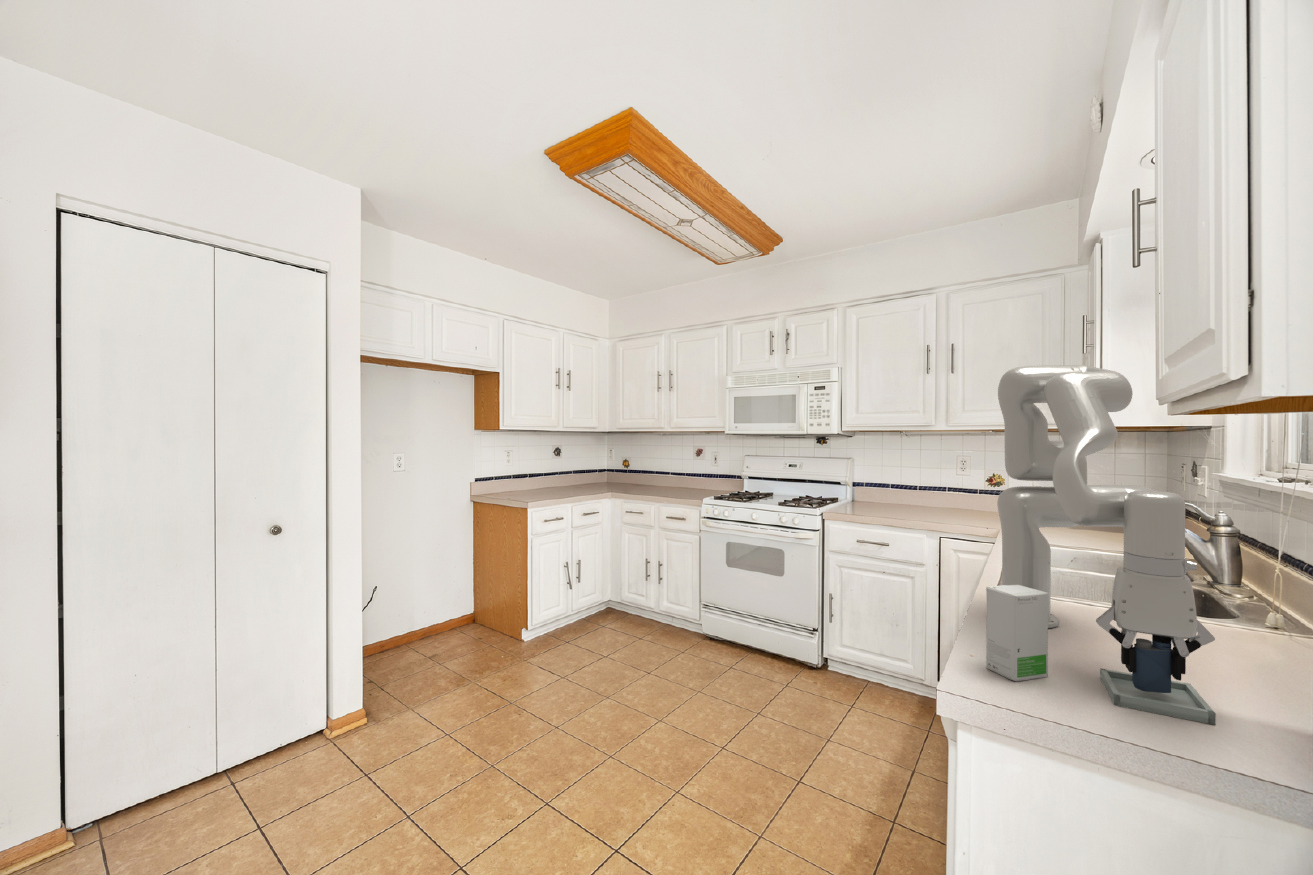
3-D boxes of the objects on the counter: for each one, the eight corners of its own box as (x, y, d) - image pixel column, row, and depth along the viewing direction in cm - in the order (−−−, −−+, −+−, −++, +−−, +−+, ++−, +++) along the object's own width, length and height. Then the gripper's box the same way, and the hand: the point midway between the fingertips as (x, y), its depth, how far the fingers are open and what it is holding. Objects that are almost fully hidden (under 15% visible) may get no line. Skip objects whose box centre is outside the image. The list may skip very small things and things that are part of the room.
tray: (1100, 677, 97) (1100, 668, 97) (1190, 694, 91) (1190, 683, 91) (1113, 704, 88) (1114, 694, 88) (1215, 724, 82) (1215, 713, 82)
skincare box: (1014, 682, 96) (1014, 596, 96) (982, 667, 102) (983, 585, 102) (1050, 676, 98) (1050, 592, 98) (1017, 661, 104) (1017, 582, 104)
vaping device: (1176, 694, 88) (1176, 621, 88) (1138, 691, 89) (1139, 619, 89) (1164, 686, 91) (1165, 616, 90) (1128, 684, 92) (1129, 614, 91)
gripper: (1215, 566, 88) (1214, 675, 89) (1084, 554, 97) (1083, 654, 97) (1234, 577, 82) (1233, 695, 82) (1092, 563, 91) (1091, 670, 91)
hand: (1152, 671), depth 90 cm, fingers closed on vaping device, 5 cm apart
